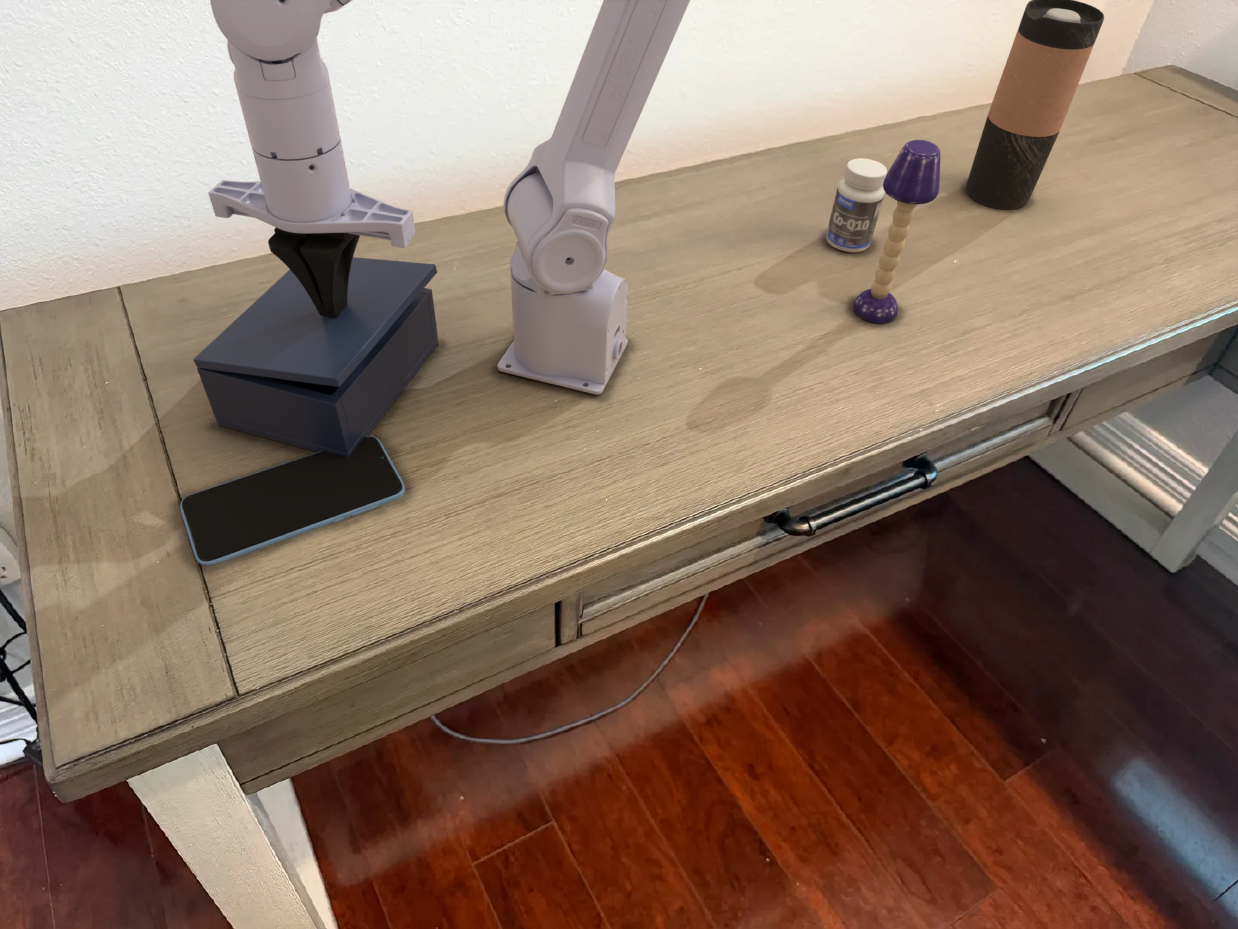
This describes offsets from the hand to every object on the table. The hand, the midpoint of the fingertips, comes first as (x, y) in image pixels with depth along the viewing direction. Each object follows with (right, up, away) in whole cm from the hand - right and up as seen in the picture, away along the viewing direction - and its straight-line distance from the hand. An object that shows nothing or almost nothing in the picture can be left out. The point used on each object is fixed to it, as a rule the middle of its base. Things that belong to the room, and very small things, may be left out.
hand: (333, 309), depth 69 cm
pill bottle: (+46, +11, +25) cm, 54 cm away
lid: (-1, 0, +1) cm, 2 cm away
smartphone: (-2, -15, -3) cm, 15 cm away
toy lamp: (+46, +3, +16) cm, 49 cm away
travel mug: (+66, +19, +34) cm, 76 cm away
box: (-2, -5, +6) cm, 8 cm away
